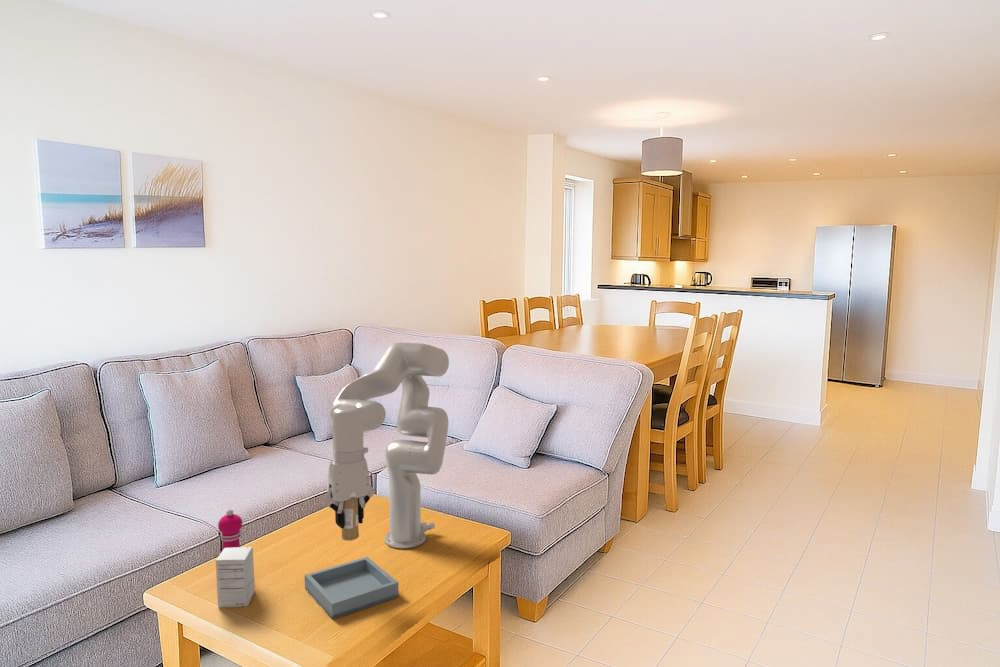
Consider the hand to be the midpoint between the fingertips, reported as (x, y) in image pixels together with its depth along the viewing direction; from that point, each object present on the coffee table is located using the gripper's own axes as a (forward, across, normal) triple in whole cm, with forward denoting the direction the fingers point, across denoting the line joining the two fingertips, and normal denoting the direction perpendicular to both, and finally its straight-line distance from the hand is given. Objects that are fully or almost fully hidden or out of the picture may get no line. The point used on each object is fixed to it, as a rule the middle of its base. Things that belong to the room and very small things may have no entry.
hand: (349, 523), depth 171 cm
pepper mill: (+19, +23, -25) cm, 39 cm away
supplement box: (+19, +25, -14) cm, 35 cm away
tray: (+19, 0, 0) cm, 19 cm away
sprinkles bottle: (+4, 0, 0) cm, 4 cm away
